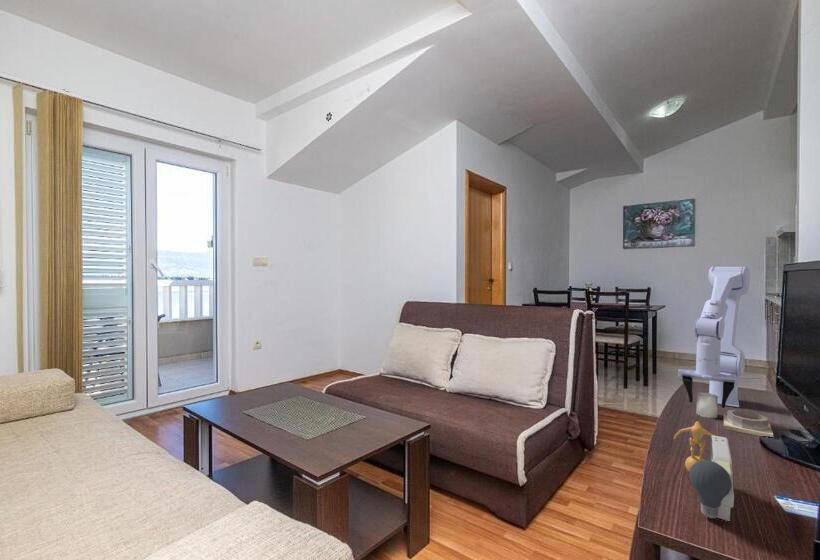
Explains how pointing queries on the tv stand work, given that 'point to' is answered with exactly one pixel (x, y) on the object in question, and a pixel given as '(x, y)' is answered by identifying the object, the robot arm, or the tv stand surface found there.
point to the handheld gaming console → (723, 458)
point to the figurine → (697, 435)
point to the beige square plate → (747, 422)
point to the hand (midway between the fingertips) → (706, 404)
